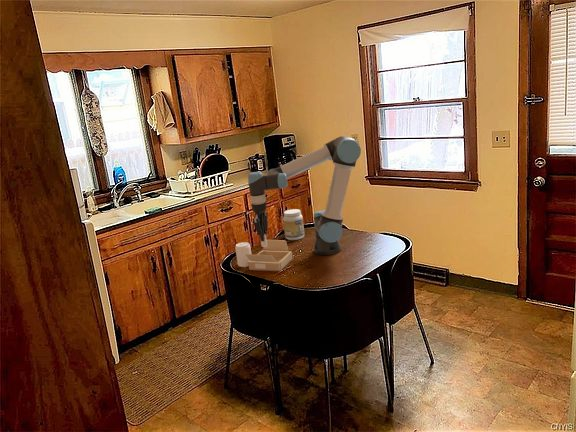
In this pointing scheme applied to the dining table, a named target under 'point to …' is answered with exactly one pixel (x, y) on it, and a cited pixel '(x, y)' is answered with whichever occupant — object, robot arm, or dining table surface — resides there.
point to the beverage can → (243, 253)
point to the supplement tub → (293, 224)
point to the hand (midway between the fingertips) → (264, 246)
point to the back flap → (276, 245)
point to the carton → (281, 262)
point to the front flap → (260, 257)
